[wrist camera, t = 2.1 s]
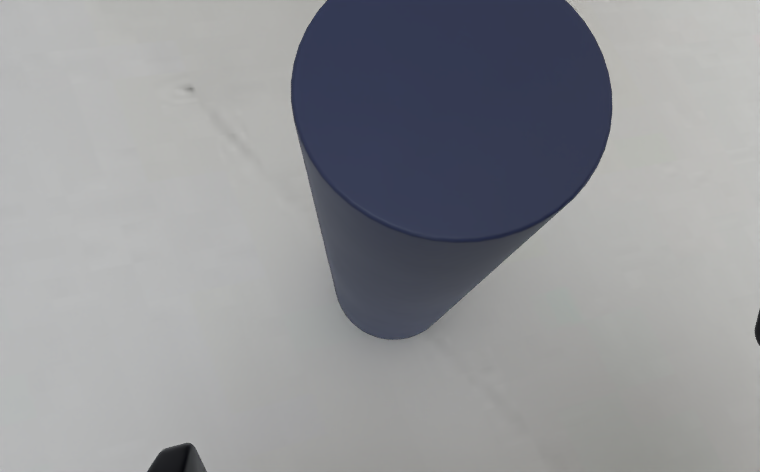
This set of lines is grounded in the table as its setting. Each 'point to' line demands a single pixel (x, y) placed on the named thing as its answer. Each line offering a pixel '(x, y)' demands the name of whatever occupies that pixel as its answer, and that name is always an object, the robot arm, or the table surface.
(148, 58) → the table surface
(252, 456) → the table surface
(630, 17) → the table surface
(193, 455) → the robot arm
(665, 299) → the table surface
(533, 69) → the navy round peg
